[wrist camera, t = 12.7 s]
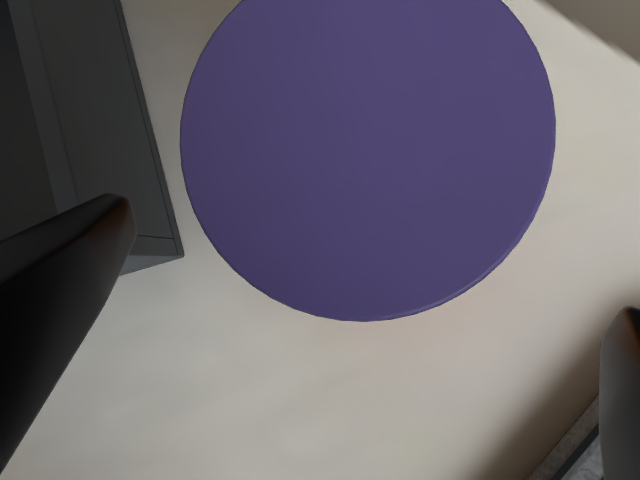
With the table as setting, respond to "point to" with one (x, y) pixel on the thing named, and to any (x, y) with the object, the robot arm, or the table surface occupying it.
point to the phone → (575, 451)
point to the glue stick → (367, 149)
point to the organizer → (77, 123)
